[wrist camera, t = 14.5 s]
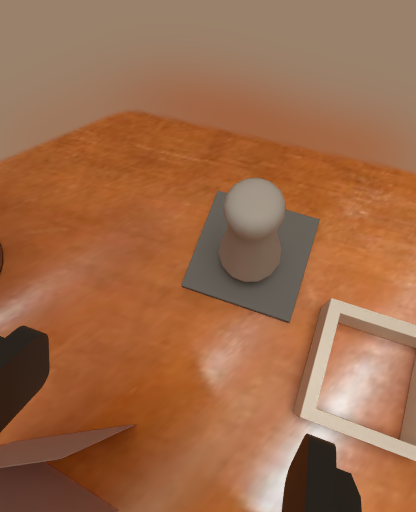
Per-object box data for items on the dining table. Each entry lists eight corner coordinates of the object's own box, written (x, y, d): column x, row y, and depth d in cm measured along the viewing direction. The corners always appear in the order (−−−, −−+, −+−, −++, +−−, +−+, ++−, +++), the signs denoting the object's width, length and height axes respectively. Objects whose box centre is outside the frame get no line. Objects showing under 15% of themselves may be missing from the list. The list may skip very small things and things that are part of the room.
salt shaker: (211, 274, 37) (196, 222, 24) (233, 224, 38) (230, 152, 26) (266, 296, 36) (281, 254, 23) (287, 244, 37) (310, 179, 25)
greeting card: (8, 451, 34) (-159, 504, 20) (53, 375, 36) (-70, 373, 21) (113, 521, 31) (9, 640, 17) (155, 435, 33) (93, 479, 19)
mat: (182, 286, 37) (181, 285, 37) (218, 193, 40) (217, 190, 40) (288, 322, 35) (289, 321, 35) (318, 221, 38) (319, 219, 38)
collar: (292, 412, 33) (299, 416, 29) (321, 306, 36) (331, 298, 32) (409, 456, 31) (432, 467, 27) (430, 341, 34) (454, 337, 30)
